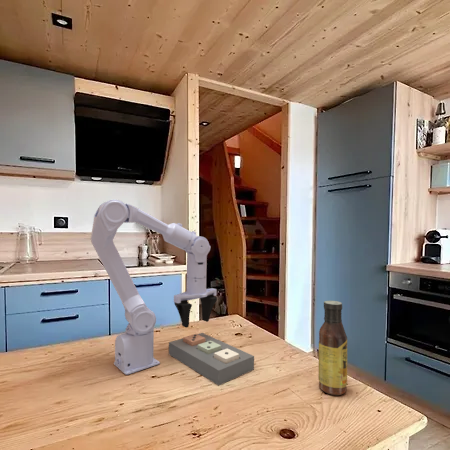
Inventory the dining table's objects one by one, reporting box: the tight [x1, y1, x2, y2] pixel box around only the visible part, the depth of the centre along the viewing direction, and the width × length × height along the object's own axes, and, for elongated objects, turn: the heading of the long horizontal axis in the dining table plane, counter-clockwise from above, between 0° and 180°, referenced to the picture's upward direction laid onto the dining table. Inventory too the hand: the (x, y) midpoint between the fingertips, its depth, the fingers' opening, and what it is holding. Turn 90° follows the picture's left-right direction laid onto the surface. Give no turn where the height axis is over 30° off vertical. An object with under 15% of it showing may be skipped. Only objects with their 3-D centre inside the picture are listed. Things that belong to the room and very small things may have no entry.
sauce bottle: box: [317, 300, 348, 396], centre depth 70 cm, size 7×6×20 cm
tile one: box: [214, 348, 239, 364], centre depth 78 cm, size 5×5×2 cm
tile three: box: [182, 333, 205, 346], centre depth 88 cm, size 5×5×2 cm
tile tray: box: [168, 332, 255, 386], centre depth 83 cm, size 12×22×4 cm, turn 42°
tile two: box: [198, 341, 221, 354], centre depth 83 cm, size 5×5×2 cm
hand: (195, 323), depth 89 cm, fingers open, 7 cm apart
